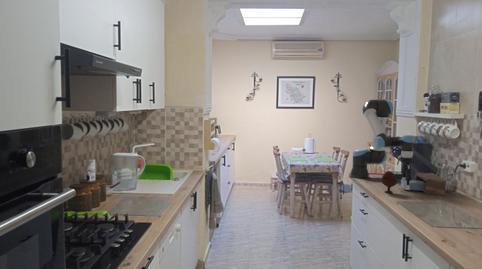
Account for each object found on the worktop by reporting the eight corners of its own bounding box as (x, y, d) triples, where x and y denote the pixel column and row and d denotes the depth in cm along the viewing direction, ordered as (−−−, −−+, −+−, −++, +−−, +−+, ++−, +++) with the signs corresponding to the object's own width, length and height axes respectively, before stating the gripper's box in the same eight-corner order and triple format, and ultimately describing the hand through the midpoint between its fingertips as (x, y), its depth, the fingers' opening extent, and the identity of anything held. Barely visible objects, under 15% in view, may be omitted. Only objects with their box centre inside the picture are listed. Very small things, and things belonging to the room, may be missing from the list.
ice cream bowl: (400, 194, 249) (401, 172, 248) (383, 194, 249) (384, 172, 248) (393, 191, 259) (394, 169, 258) (377, 190, 260) (378, 169, 259)
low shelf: (415, 186, 277) (415, 172, 277) (432, 186, 275) (433, 173, 274) (425, 194, 252) (426, 179, 251) (445, 194, 250) (445, 180, 249)
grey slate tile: (400, 186, 272) (401, 179, 271) (427, 188, 268) (427, 181, 268) (404, 189, 262) (404, 182, 261) (431, 191, 258) (432, 183, 258)
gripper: (416, 159, 253) (415, 191, 254) (408, 155, 275) (407, 185, 277) (405, 158, 254) (403, 191, 256) (397, 154, 276) (396, 184, 278)
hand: (405, 188), depth 266 cm, fingers closed on grey slate tile, 10 cm apart
